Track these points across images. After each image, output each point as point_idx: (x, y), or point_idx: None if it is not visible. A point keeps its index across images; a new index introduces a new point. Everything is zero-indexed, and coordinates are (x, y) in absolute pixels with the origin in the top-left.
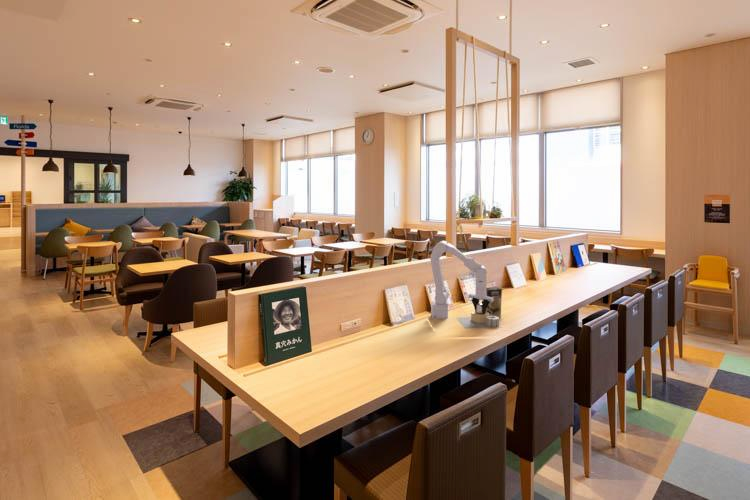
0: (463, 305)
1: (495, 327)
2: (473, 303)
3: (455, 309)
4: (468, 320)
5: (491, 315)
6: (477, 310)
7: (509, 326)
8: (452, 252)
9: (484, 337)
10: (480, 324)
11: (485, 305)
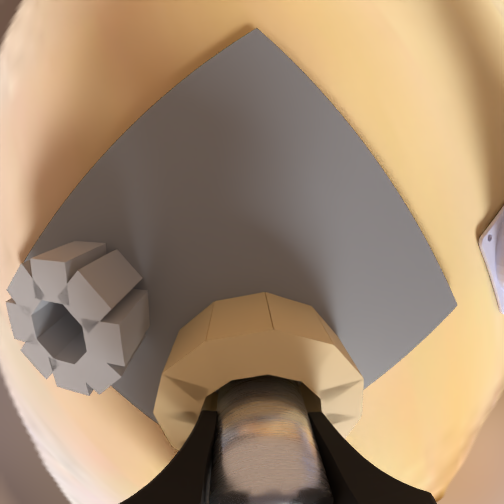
0: (428, 491)
1: (40, 238)
2: (382, 480)
3: (461, 441)
4: (350, 297)
5: None
6: (285, 415)
7: None
8: None
9: (60, 14)
10: (180, 240)
11: (148, 492)
